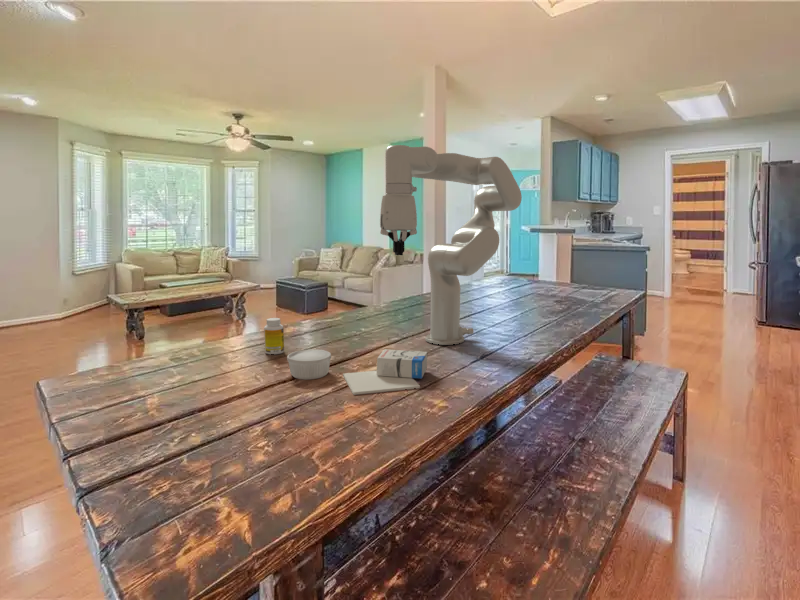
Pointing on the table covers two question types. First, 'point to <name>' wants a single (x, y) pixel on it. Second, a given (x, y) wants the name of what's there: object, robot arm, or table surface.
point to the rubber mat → (377, 382)
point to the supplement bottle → (274, 336)
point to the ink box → (402, 363)
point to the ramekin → (309, 363)
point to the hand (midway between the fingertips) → (398, 254)
